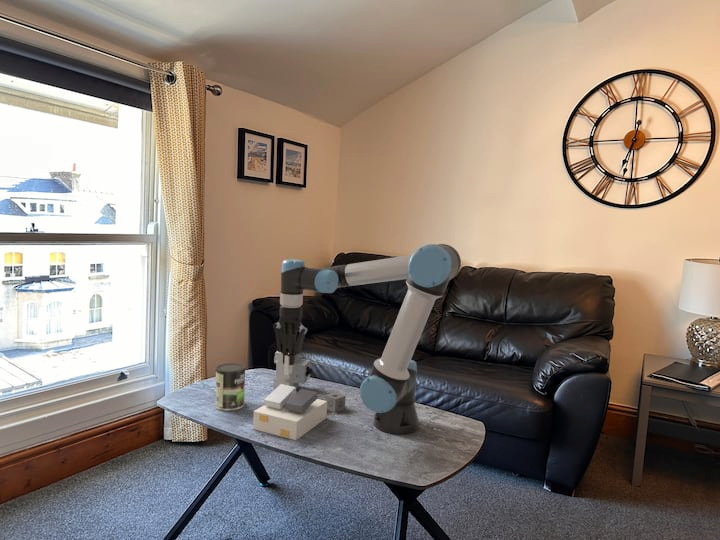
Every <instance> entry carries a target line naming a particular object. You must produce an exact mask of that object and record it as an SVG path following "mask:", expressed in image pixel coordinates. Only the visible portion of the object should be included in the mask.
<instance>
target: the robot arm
mask: <svg viewBox="0 0 720 540" xmlns="http://www.w3.org/2000/svg"><path fill="white" fill-rule="evenodd" d="M461 267H462V259H461V256H460V254H459V251H457V250H456V248H454V247H453V246H451V245H449V244H446V243H439V244H435V243H434V244H425V245H424V246H421V247H420V248H418V249H416V250H415V251H414V252H413V253H412V254H407V255H402V256H395V257H388V258H383V259H381V258H380V259H376V260H368V261H362V262H355V263H349V264H340V265H335V266H328V267H322V268H316V267H315V268H314V267H308V266H307V267H306V265H305V261H304V260H301V259H293V258H291V259H285V260H283V261H282V263H281V271H280V297H279V304H280V306H279V320H278V322H276V323H273V324H272V328H273V330H274V333H275V341H276V346H277V347H276V348H277V351H278V352H281V353H282V354H283V364H285V365H284V374H285V375H289V374H291V373H292V365H294V363H295V355H298V354H300V355H301V351H302V348H303V344H304V340H305V338H306V334H307V333H308V332H309V328H308V327H305V326H304V325H303V322H302V317H303V307H302V305H303V300H304V297H303V296H304V291H310V292H316V293H321V294H332V293H334V292H335V291H336V290H337V289H338V288H346V287H352V286H360V285H367V284H376V283H385V282H392V281H400V280H401V281H402V280H405V283H406V286H407V292H406V294H405V297H404V299H403V301H402V304H401V307H400V309H399V311H398V314H397V316H396V317H397V318H396V320H395V322H394V325H393V327H392V329H391V332H390V334H389V337H388V340H387V342H386V345H385V347H384V350H383V352H382V355H381V357H380V358H377V359H375V360H374V362H373V363H372V367H371V368H370V369H371V370H370V372H369V375H368V376H367V377H366V378H364V379H363V381H362V382H361V384H360V387H359V396H360V398H361V401H362V403H363V405H364V406H365V407H366V408H367V409H369V410H370V411H372V412H374V416H373V426H374V427H375V428H376V429H377V430H380V431H382V432H384V433H387V434H392V435H393V434H394V435H405V434H411V433H414V432H416V431H417V430H418V429H419V416H418V412H417V409H416V406H415V403H416V401H415V400H416V386H417V374H418V370H417V368H418V367H417V361H415V360H412V358H413V356H414V354H415V350H416V348H417V346H418V343H419V340H420V339H421V336H422V333H423V331H424V329H425V326H426V324H427V321H428V318H429V317H430V314H431V312H432V310H433V307H434V304H435V301H436V300H438V299H439V298H442V297H443V296H444V294H445V291H446V290H447V287H448V285H449V282H450V281H451V280H452V279H455V277H456V276H457V275H458V274H459V272H460V270H461ZM298 332H299V333H298ZM288 353H289V354H288Z"/></svg>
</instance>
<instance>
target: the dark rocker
mask: <svg viewBox="0 0 720 540" xmlns="http://www.w3.org/2000/svg"><path fill="white" fill-rule="evenodd" d="M316 399H318V392H317V391H314V390H308V389H304V388H301V389H299V391H296V394H295V395H294V396H293V397H292V398H290V399H289V400H288V401H287V402H286V403H285V404H286V410H290V411H294V412H298V413H303V412H304V411H305V410H306V409H307V408H308V407H309V406H310V405H311V404H312V403H313V402H314V401H315V400H316Z"/></svg>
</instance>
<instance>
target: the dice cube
mask: <svg viewBox="0 0 720 540" xmlns="http://www.w3.org/2000/svg"><path fill="white" fill-rule="evenodd" d="M346 397H347V396H346V395H344V394H342V393H340V392H337V391H336V392H332V393H329V394H326V395H325V401H327V411H330V412H333V413H339V412H341V411H343V410H346Z"/></svg>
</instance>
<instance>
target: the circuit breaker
mask: <svg viewBox="0 0 720 540" xmlns="http://www.w3.org/2000/svg"><path fill="white" fill-rule="evenodd" d="M288 354H289V353H288ZM273 358H274V359H273V363H274V364H275V365H276V367H275V368H276V369H275V377H273V384H272V385H273V391H274V390H275V389H276V388H277V387H278V386H279V385H280V384H283V385H288V386H293V387H296V389H297V388H299V386H300V384H301V385H305V384H306V383H307V381H308V380H309V379H311V374H312V373H313V370H314V369H313V368H311V359H304V358H301V353H300V354H298V355H295V363H294V365H292V373H291V374H289V375H285V374H284V365H285V364H283V354H282V353H281V352H278V350H276V352H274V357H273Z"/></svg>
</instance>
